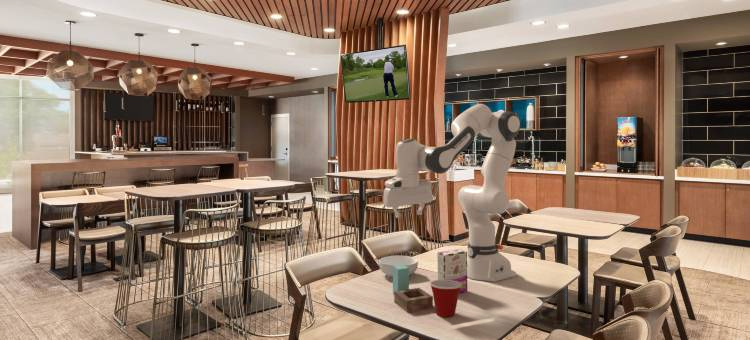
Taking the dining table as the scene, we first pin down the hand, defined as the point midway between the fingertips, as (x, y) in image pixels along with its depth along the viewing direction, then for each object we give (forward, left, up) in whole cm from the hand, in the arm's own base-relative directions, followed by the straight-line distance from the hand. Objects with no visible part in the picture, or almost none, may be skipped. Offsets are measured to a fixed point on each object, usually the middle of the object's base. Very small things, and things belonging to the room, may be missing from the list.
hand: (408, 215), depth 182 cm
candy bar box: (-14, +10, -30) cm, 34 cm away
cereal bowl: (-4, -18, -30) cm, 35 cm away
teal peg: (+7, +7, -30) cm, 31 cm away
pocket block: (+7, +17, -30) cm, 35 cm away
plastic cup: (+1, +29, -30) cm, 41 cm away
